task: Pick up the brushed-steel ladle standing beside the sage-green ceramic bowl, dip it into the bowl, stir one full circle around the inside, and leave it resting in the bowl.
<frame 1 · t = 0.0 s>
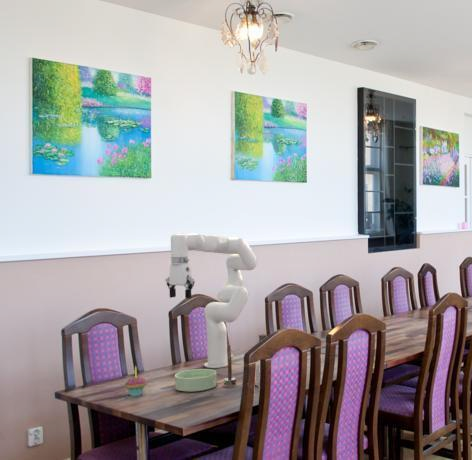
hand: (180, 297, 298), 37 cm above the table, tool pointing down, fingers open, 9 cm apart
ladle: (230, 385, 281), on the table
bowl: (196, 387, 279), on the table
soap dispenser: (265, 385, 282), on the table
cupcake: (136, 395, 269), on the table
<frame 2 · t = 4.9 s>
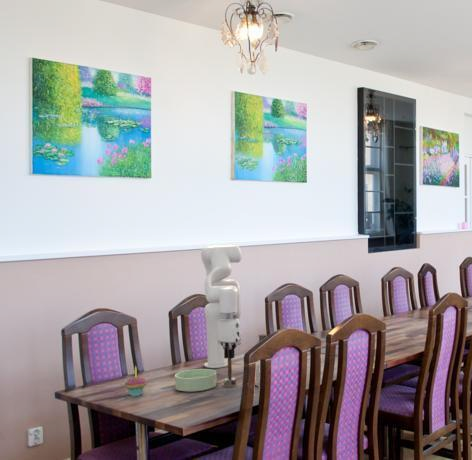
hand: (229, 357, 281), 12 cm above the table, tool pointing down, fingers closed on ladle
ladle: (230, 385, 281), on the table, touching gripper
everything else where it was.
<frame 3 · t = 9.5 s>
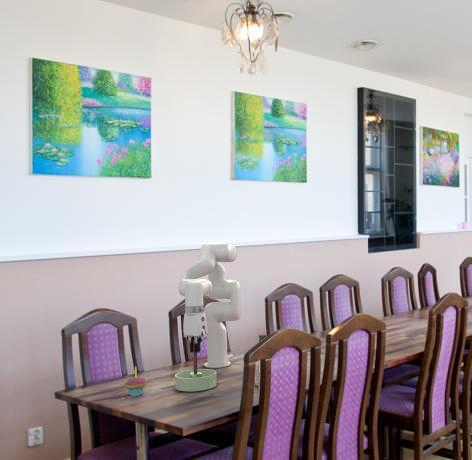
hand: (195, 351, 279), 16 cm above the table, tool pointing down, fingers closed on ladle
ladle: (195, 380, 279), point 3 cm above the table, touching gripper
everything else where it was.
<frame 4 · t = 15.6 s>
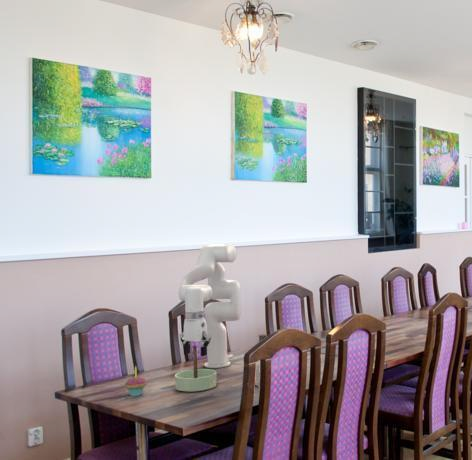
hand: (195, 354, 279), 14 cm above the table, tool pointing down, fingers open, 9 cm apart
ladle: (195, 386, 279), point 1 cm above the table, touching bowl
everything else where it was.
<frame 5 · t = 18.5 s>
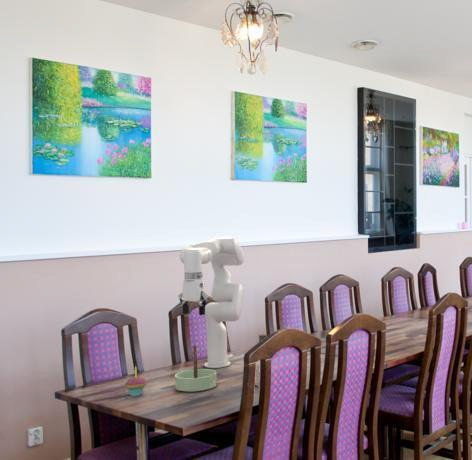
hand: (193, 314, 289), 30 cm above the table, tool pointing down, fingers open, 9 cm apart
nothing on the table moved.
at the end: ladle inside the target area in the bowl (0.1 cm from its centre), point 0.6 cm above the bowl's base; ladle moved 14.5 cm from its start; the gripper is holding nothing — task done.
